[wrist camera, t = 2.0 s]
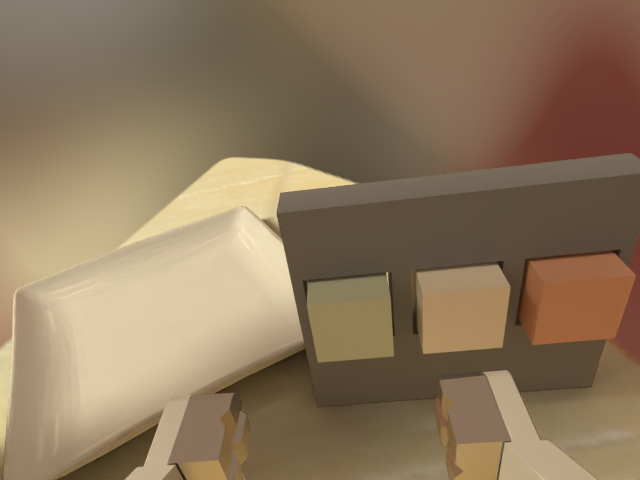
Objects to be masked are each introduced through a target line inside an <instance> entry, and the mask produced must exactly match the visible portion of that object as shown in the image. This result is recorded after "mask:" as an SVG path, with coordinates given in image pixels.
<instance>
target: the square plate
mask: <svg viewBox="0 0 640 480" xmlns="http://www.w3.org/2000/svg"><path fill="white" fill-rule="evenodd" d="M12 331H13V333H12V357H11V373H10V385H9V399H8V412H7V425H6V439H5V454H4V468H3V480H57V479H59V478H61V477H63V476H65V475H67V474H69V473H71V472H73V471H74V470H76V469H78V468H80V467H82V466H84V465H86V464H88V463H90V462H91V461H93V460H95V459H97V458H99V457H101V456H103V455H104V454H106V453H108V452H110V451H112V450H113V449H115V448H117V447H119V446H120V445H122V444H124V443H126V442H127V441H129V440H131V439H133V438H134V437H136V436H138V435H140V434H141V433H143V432H145V431H147V430H148V429H150V428H152V427H153V426H155V425H157V424H159V422H160V419H161V417H162V414H163V411H164V408H165V406H166V403H167V402H168V401H169V399H170V398H171V397H172V396H185V395H202V394H214V393H216V392H218V391H220V390H222V389H224V388H226V387H228V386H230V385H232V384H234V383H235V382H237V381H239V380H241V379H243V378H245V377H247V376H249V375H251V374H253V373H255V372H257V371H259V370H262V369H264V368H266V367H268V366H270V365H272V364H274V363H276V362H278V361H280V360H283V359H285V358H287V357H289V356H291V355H293V354H295V353H297V352H299V351H301V350H304V349H305V345H304V340H303V335H302V331H301V326H300V321H299V317H298V312H297V307H296V303H295V298H294V293H293V288H292V284H291V279H290V274H289V270H288V265H287V260H286V256H285V251H284V246H283V241H282V239H281V238H280V237H279V236H278V235H277V234H276V233H275V232H273V231H272V230H271V229H270V228H269V227H268V226H267V225H266V224H265V223H264V222H263V221H262V220H261V219H260V218H259V217H258V216H257V215H256V214H254V213H253V212H252V211H251V210H250V209H248V208H247V207H244V206H241V207H237V208H234V209H231V210H228V211H225V212H222V213H219V214H217V215H214V216H211V217H208V218H205V219H202V220H199V221H196V222H193V223H190V224H187V225H184V226H181V227H178V228H175V229H172V230H170V231H167V232H164V233H161V234H158V235H155V236H152V237H149V238H147V239H144V240H141V241H138V242H136V243H133V244H130V245H127V246H124V247H122V248H119V249H116V250H114V251H111V252H108V253H106V254H103V255H101V256H98V257H96V258H93V259H90V260H87V261H85V262H83V263H80V264H77V265H75V266H72V267H69V268H67V269H65V270H62V271H59V272H57V273H54V274H52V275H49V276H47V277H44V278H42V279H39V280H36V281H33V282H31V283H29V284H26V285H24V286H22V287H20V288H18V289H17V290H16V291H15V293H14V301H13V329H12Z"/></svg>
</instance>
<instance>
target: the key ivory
mask: <svg viewBox="0 0 640 480" xmlns="http://www.w3.org/2000/svg"><path fill="white" fill-rule="evenodd" d="M510 288H511V287H510V285H509V283H508V281H507V279H506V278H505V276H504V274H503V272H502V270H501V269H500V267H499V265H498V263H497V262H486V263H476V264H466V265H455V266H445V267H435V268H425V269H414V270H412V311H413V315H414V319H415V323H416V327H417V331H418V335H419V339H420V343H421V347H422V351H423V354H429V353H442V352H454V351H466V350H479V349H491V348H502V347H503V340H504V332H505V325H506V317H507V310H508V303H509V295H510Z"/></svg>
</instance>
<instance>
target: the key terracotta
mask: <svg viewBox="0 0 640 480" xmlns="http://www.w3.org/2000/svg"><path fill="white" fill-rule="evenodd" d="M635 277H636V275H635V274H634V273H633V272H632V271H631V270H630V269H629V268H628V267H627V266H626V265H625V263H624V262H623V261H622V260H621V259H620V258H619V257H618V256H617V255H616V254H615V253H614V252H613V251H612V250H610V251H599V252H589V253H579V254H569V255H558V256H548V257H538V258H527V259H525V264H524V271H523V277H522V284H521V290H520V297H519V304H518V310H517V317H518V318H519V320H520V322H521V324H522V326H523V328H524V330H525V332H526V333H527V335H528V337H529V339H530V341H531V343H532V345H540V344H552V343H564V342H577V341H589V340H601V339H613V338H615V337H616V334H617V331H618V328H619V325H620V322H621V319H622V316H623V313H624V310H625V307H626V304H627V301H628V298H629V295H630V292H631V289H632V286H633V283H634V279H635Z"/></svg>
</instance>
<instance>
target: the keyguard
mask: <svg viewBox="0 0 640 480" xmlns="http://www.w3.org/2000/svg"><path fill="white" fill-rule="evenodd" d="M277 218H278V223H279V227H280V232H281V237H282V241H283V246H284V251H285V256H286V260H287V265H288V270H289V274H290V279H291V284H292V288H293V293H294V298H295V303H296V307H297V312H298V317H299V321H300V326H301V331H302V335H303V340H304V345H305V350H306V354H307V359H308V364H309V368H310V373H311V378H312V382H313V387H314V392H315V397H316V401H317V406H318V407H320V406H334V405H348V404H361V403H375V402H389V401H402V400H416V399H429V398H438V396H437V392H436V388H435V381H436V376H440V375H451V374H462V373H472V372H482V373H483V372H490V371H502V370H507V371H508V372H509V373H510V374H511V375H512V377H513V379H514V382H515V384H516V386H517V388H518V390H519V392H525V391H538V390H552V389H566V388H579V387H591V386H592V383H593V379H594V376H595V373H596V370H597V367H598V363H599V360H600V357H601V354H602V351H603V348H604V344H605V341H606V339H601V340H589V341H577V342H564V343H552V344H540V345H532V343H531V341H530V339H529V337H528V335H527V333H526V332H525V330H524V328H523V326H522V324H521V322H520V320H519V318H518V317H517V310H518V304H519V297H520V290H521V284H522V277H523V271H524V264H525V259H527V258H538V257H548V256H558V255H569V254H579V253H589V252H599V251H610V250H612V251H613V252H614V253H615V254H616V255H617V256H618V257H619V258H620V259H621V260H622V261H623V262H624V263H625V265H626V266H627V267H628V268H629V265H630V262H631V258H632V255H633V252H634V249H635V246H636V243H637V239H638V236H639V233H640V159H639V158H637V157H636V156H634V155H633V154H631V153H626V154H617V155H609V156H601V157H592V158H582V159H573V160H565V161H556V162H547V163H538V164H529V165H521V166H512V167H503V168H494V169H486V170H477V171H468V172H460V173H451V174H442V175H433V176H425V177H416V178H407V179H398V180H389V181H381V182H371V183H363V184H354V185H345V186H336V187H328V188H319V189H310V190H301V191H292V192H284V193H280V198H279V203H278V208H277ZM486 262H497V263H498V265H499V267H500V269H501V270H502V272H503V274H504V276H505V278H506V279H507V281H508V283H509V285H510V287H511V288H510V295H509V303H508V310H507V317H506V325H505V332H504V340H503V347H502V348H491V349H479V350H466V351H454V352H442V353H429V354H423V351H422V347H421V343H420V339H419V335H418V331H417V327H416V323H415V319H414V315H413V311H412V270H414V269H425V268H435V267H445V266H455V265H466V264H476V263H486ZM383 272H388V282H389V291H390V297H391V311H392V329H393V347H394V356H393V357H380V358H368V359H356V360H344V361H331V362H319V363H318V361H317V356H316V351H315V345H314V340H313V335H312V330H311V325H310V320H309V315H308V310H307V292H308V280H311V279H322V278H332V277H342V276H352V275H363V274H373V273H383Z"/></svg>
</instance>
